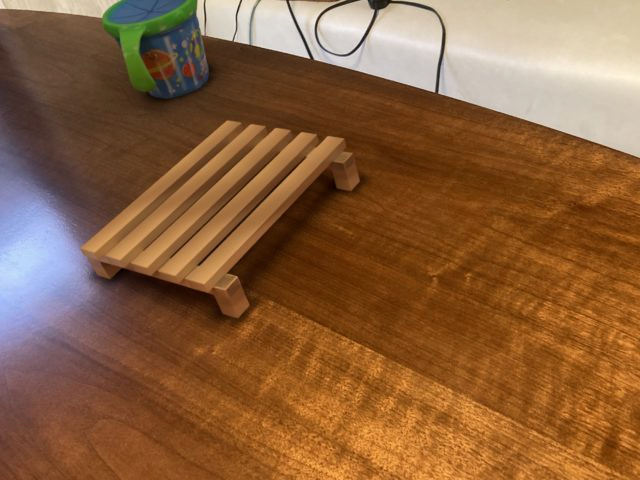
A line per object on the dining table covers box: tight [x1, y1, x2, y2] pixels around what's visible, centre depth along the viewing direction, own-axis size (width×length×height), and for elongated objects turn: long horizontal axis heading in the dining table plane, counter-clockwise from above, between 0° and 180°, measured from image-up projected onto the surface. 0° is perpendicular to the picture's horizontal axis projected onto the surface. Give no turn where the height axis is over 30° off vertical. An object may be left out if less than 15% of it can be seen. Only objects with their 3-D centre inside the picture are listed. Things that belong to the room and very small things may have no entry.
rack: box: [79, 120, 361, 319], centre depth 68 cm, size 16×20×4 cm
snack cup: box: [101, 0, 210, 100], centre depth 89 cm, size 16×10×10 cm
